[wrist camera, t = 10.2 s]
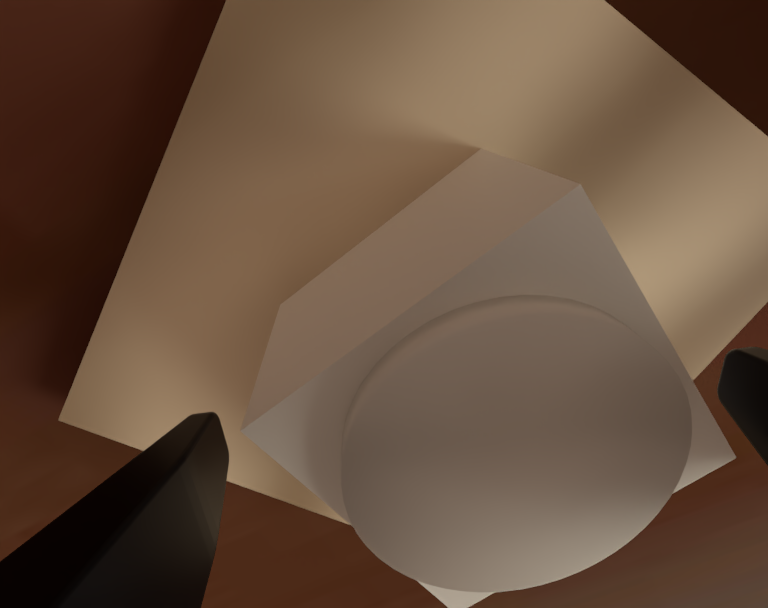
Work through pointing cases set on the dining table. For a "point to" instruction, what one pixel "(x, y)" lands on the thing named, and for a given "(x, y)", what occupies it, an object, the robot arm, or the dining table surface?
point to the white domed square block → (483, 388)
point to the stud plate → (407, 186)
